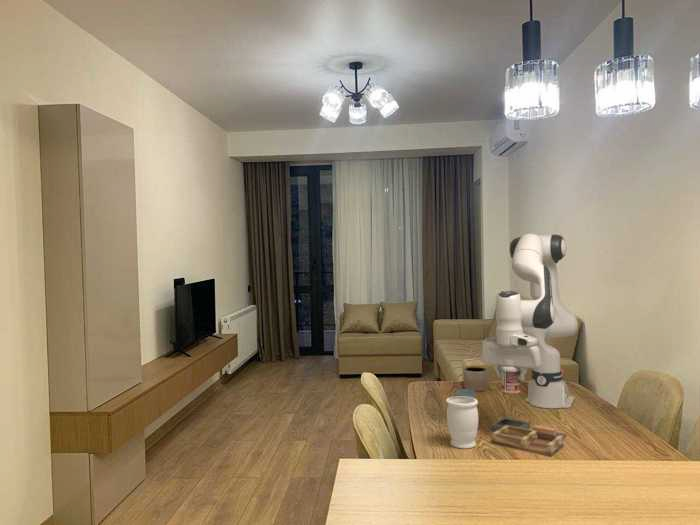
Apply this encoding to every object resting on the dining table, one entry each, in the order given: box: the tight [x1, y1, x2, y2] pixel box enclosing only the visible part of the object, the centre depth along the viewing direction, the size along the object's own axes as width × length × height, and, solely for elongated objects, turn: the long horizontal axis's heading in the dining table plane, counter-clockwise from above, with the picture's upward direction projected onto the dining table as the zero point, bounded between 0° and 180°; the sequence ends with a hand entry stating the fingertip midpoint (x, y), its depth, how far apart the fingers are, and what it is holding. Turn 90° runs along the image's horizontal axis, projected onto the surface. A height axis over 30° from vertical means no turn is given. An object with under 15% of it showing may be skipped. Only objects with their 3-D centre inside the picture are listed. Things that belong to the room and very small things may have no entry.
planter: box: [463, 366, 489, 393], centre depth 248 cm, size 11×11×10 cm
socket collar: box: [490, 417, 531, 432], centre depth 189 cm, size 10×10×2 cm
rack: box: [491, 424, 565, 457], centre depth 173 cm, size 11×20×4 cm, turn 49°
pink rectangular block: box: [532, 424, 557, 436], centre depth 177 cm, size 2×7×4 cm, turn 49°
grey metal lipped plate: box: [537, 432, 568, 441], centre depth 179 cm, size 10×9×3 cm
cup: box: [454, 389, 476, 399], centre depth 203 cm, size 8×8×10 cm
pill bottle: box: [500, 359, 521, 394], centre depth 179 cm, size 6×6×11 cm
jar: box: [446, 395, 479, 450], centre depth 175 cm, size 11×10×15 cm
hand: (510, 379), depth 179 cm, fingers closed on pill bottle, 6 cm apart
